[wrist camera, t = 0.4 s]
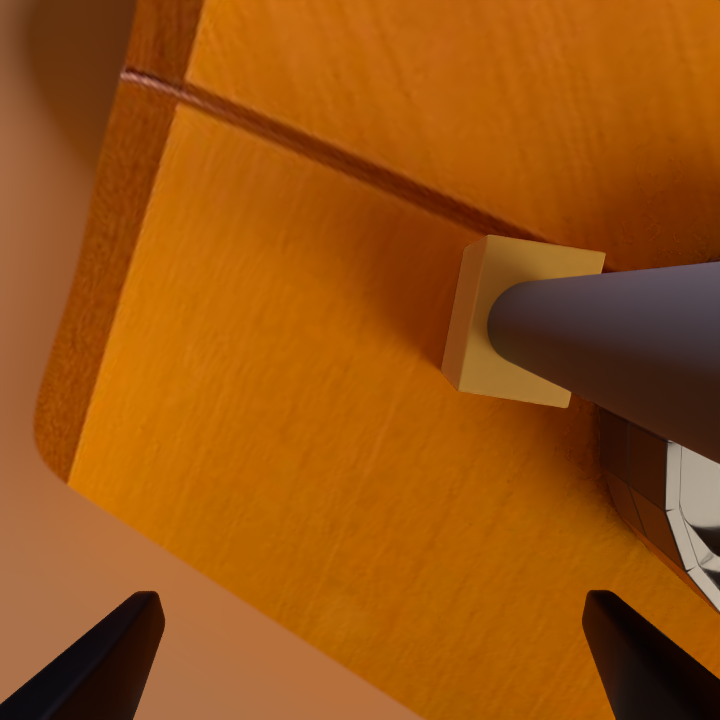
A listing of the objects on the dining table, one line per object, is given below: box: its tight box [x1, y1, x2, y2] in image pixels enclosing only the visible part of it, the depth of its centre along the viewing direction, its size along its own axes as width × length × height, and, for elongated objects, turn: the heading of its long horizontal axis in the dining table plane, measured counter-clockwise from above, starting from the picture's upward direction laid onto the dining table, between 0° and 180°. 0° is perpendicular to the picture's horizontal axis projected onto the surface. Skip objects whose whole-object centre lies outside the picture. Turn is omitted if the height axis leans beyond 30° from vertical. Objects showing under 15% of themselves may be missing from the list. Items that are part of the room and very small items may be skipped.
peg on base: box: [441, 235, 720, 464], centre depth 12 cm, size 6×4×15 cm
